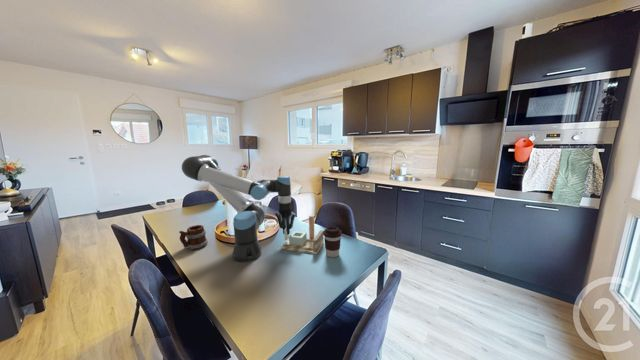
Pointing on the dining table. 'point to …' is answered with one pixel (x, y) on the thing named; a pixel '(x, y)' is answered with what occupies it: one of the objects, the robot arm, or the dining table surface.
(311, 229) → the dowel
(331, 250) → the coffee cup
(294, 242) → the block
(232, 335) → the dining table surface
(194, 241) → the mug
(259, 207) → the robot arm
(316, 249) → the board
